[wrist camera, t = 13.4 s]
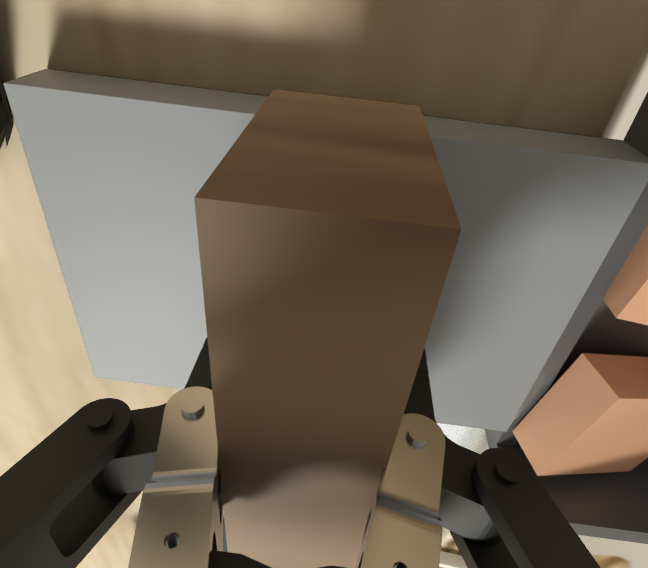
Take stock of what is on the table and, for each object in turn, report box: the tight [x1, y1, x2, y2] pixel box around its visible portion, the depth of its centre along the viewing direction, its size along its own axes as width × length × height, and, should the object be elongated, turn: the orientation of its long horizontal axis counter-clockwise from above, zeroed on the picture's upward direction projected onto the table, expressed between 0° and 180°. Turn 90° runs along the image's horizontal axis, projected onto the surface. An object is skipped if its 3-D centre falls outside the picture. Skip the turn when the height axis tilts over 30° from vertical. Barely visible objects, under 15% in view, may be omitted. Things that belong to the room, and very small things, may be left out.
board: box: [3, 69, 648, 432], centre depth 16 cm, size 12×18×2 cm, turn 84°
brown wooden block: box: [194, 89, 461, 568], centre depth 12 cm, size 14×4×6 cm, turn 175°
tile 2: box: [512, 353, 648, 476], centre depth 18 cm, size 5×5×2 cm
